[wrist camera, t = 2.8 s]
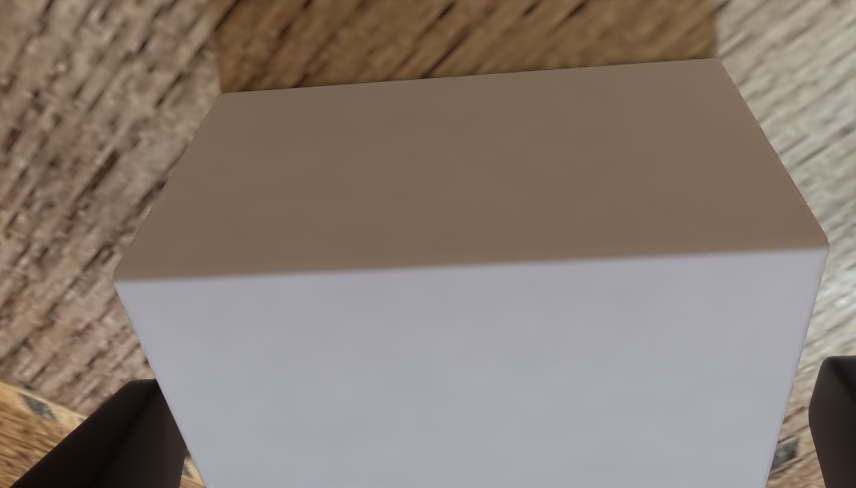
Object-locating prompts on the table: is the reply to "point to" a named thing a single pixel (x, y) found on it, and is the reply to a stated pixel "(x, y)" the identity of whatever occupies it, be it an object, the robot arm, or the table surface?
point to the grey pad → (479, 283)
